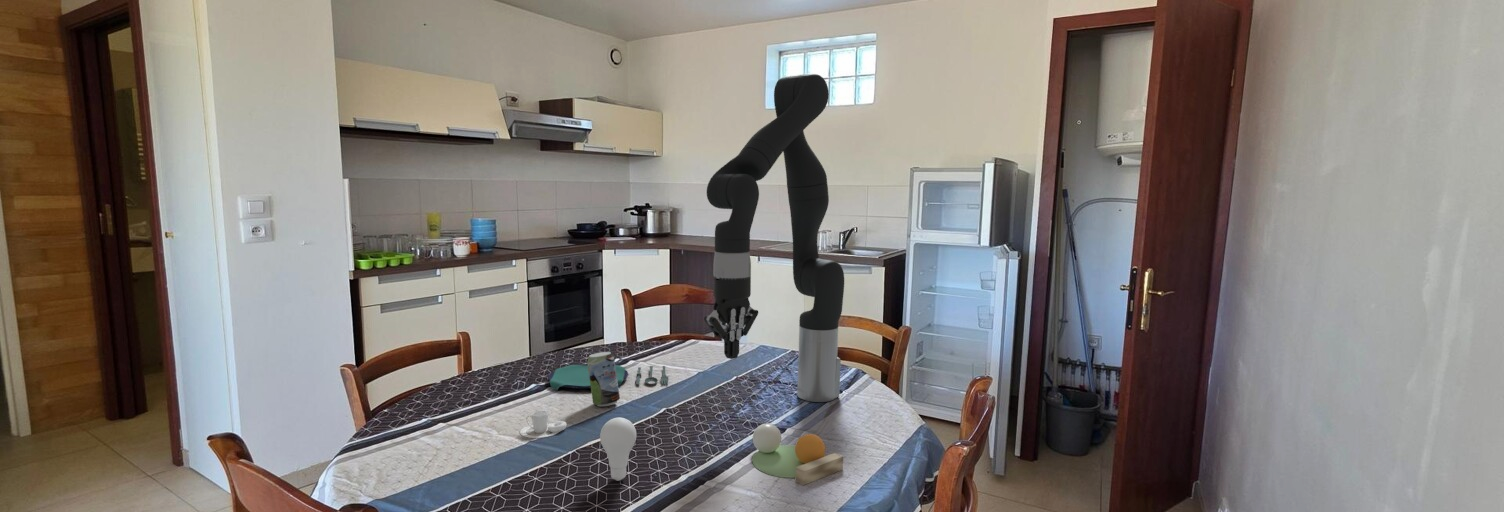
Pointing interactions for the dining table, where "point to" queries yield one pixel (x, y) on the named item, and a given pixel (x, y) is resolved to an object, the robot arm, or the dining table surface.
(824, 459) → the stopper wall
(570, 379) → the cutlery set
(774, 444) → the white ball
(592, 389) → the beverage can
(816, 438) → the orange ball
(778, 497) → the dining table surface
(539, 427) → the teacup and saucer
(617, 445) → the lightbulb
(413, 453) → the dining table surface
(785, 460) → the green mark
